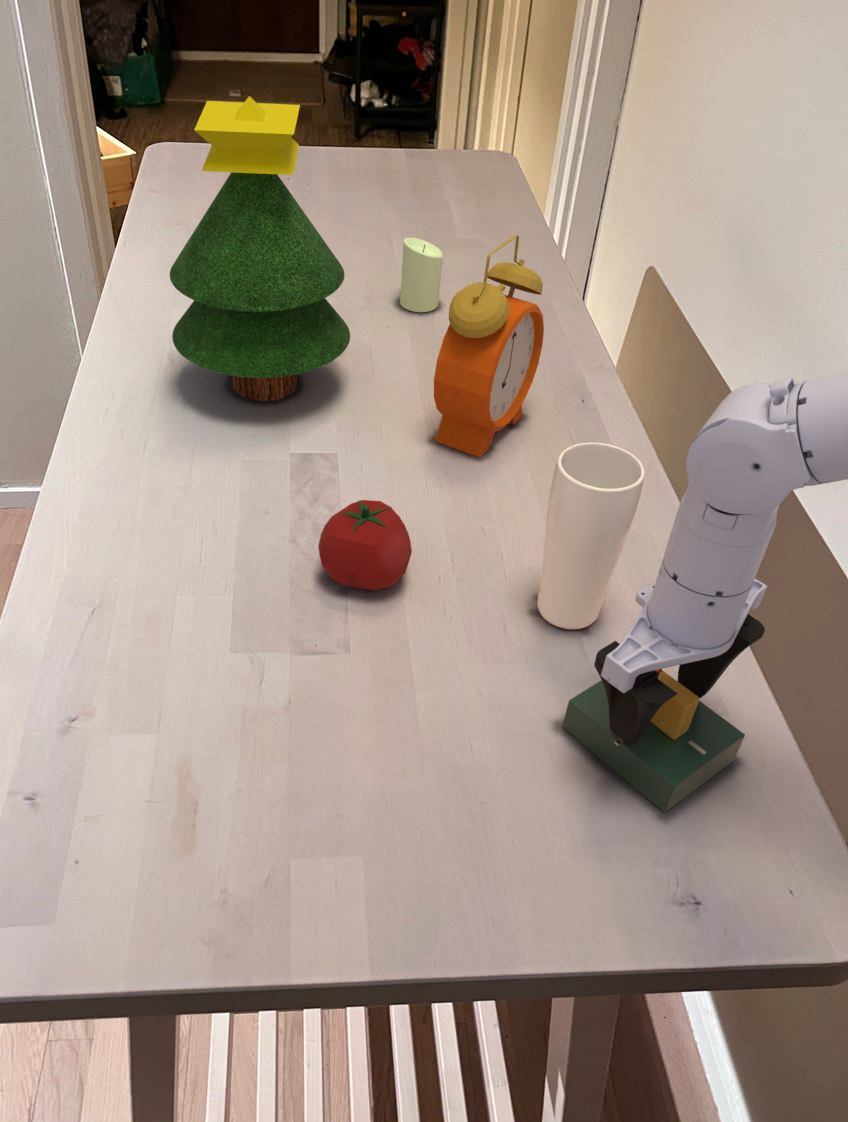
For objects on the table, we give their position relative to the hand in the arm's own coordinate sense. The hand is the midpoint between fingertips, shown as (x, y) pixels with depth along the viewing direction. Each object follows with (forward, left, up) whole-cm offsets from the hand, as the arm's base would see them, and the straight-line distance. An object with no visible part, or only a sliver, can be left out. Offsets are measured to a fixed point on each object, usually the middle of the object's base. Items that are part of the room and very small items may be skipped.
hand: (657, 711), depth 73 cm
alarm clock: (+40, -20, -4) cm, 45 cm away
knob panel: (0, 0, -4) cm, 4 cm away
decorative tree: (+61, -6, -4) cm, 61 cm away
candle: (+67, -34, -4) cm, 75 cm away
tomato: (+28, +5, -4) cm, 29 cm away
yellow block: (0, 0, -1) cm, 1 cm away
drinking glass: (+14, -6, -4) cm, 16 cm away
